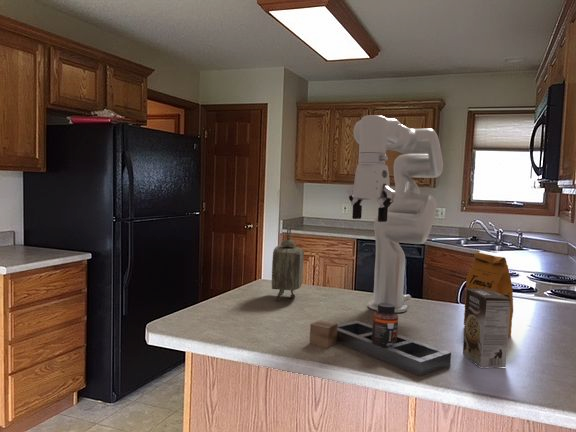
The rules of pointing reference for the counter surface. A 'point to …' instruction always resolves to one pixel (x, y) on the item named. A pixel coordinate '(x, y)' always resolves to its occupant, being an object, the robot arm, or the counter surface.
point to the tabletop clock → (287, 266)
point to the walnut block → (323, 333)
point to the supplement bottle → (385, 324)
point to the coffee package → (491, 278)
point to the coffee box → (486, 327)
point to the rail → (394, 349)
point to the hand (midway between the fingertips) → (369, 220)
